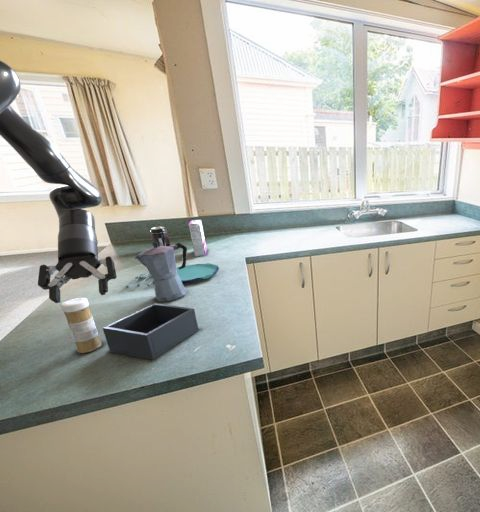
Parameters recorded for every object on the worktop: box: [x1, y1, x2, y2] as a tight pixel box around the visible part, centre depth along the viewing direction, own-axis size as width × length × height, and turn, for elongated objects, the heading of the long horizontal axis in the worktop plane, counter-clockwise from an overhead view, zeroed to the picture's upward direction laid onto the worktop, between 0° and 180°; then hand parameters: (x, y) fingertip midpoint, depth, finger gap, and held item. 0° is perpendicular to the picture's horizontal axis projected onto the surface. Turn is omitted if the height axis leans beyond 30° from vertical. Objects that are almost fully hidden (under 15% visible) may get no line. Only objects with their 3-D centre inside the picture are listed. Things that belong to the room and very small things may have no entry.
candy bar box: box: [187, 219, 208, 257], centre depth 149 cm, size 11×5×16 cm, turn 26°
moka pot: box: [134, 242, 188, 302], centre depth 102 cm, size 10×15×20 cm, turn 155°
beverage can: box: [150, 226, 171, 247], centre depth 155 cm, size 7×7×12 cm
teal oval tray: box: [125, 262, 220, 289], centre depth 120 cm, size 20×30×2 cm, turn 109°
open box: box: [102, 302, 199, 360], centre depth 78 cm, size 14×14×7 cm
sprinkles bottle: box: [60, 297, 103, 354], centre depth 73 cm, size 5×5×13 cm
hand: (80, 297), depth 75 cm, fingers open, 8 cm apart
